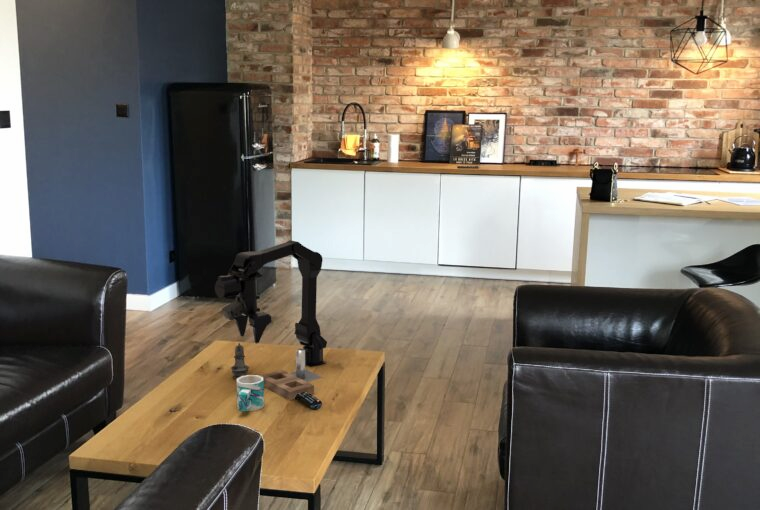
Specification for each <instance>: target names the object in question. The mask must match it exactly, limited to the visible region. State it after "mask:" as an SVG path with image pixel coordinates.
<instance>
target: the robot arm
mask: <svg viewBox="0 0 760 510" xmlns="http://www.w3.org/2000/svg"><path fill="white" fill-rule="evenodd" d="M291 256H292V257H293V258H294V259H296V262H297V268H298V270H299V271H298V272H299V273H300V274H301V315H300V316H301V317H300V320H299V321H298V322H295V324H294V329H295V330H294V335H295V337H296V339H297V340H298V342H299V345H301V346H302V349H304V350H305V366H307V367H309V368H313V367H317V366H320V365H325V364H326V361H324V349H326V348H327V344H328V341H327V340H326V339H325V338H324V337H323V336H322V335H321V327H320V324H319V322H318V320H317V290H318V289H317V288H318V287H317V286H318V283H317V282H318V279H317V278H318V276H319V275H320V272H321V271H322V266H323V262H324V261H323V255H322V254H321V253H320V252H318V251H313V250H312V249H310V248H308V247H306V246H304V245H303V244H301V243H300V242H299V241H295V240H292V239H291V240H287V241H286V242H282V243H280V244H276V245H274V246H271V247H268V248H265V249H262V250H258V251H256V250H255V251H245V252H244V251H243V252H239V253H237V254H236V256H235V258H234V262H233V263H232V265H231V267H230V268H229V270H228V273H227V275H220V276H219V275H218V277H217V280H216V282H215V284H214V292H215V295H216V296H217V297H218V298H219V299H225V298H230V297H234V296H235V300H234V301H232V302H231V303H229V304H227V305H226V306H224V307H222V308H221V311H222V314H223V316H224V318H225V319H228V320H229V321H235V324H236V327H237V330H238V332H239V335H240V337H245V334H246V330H247V326H249V327H251V328H252V330H253V340H254V343H255V344H259V343H260V341H261V338H262V336H263V333H264V332H265V330H266V328H267V326H268V325H270V324H272V315H270V314H269V313H267V312H265V311H261V308H260V307H258V300H260V297H261V296H260V295H258V289H257V288H258V287H257V279H259V278H262V277H263V275H262V273H260V272H259V271H260V270H261V269H263V268H264V266H266V265H267V264H269V263H272V262H274V261H277V260H280V259H283V258H286V257H291ZM247 324H248V325H247Z"/></svg>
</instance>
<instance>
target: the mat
mask: <svg viewBox="0 0 760 510" xmlns="http://www.w3.org/2000/svg"><path fill="white" fill-rule="evenodd" d="M290 374H292V375H294V376H296V371H294V372H293V371H292V372H290ZM322 378H323V377H322V376H321V375H318V374H317V373H314V372H312V371H310V370H308V369H306V368H305V379H302V380H304V381H306V382H308V383H309V382H311V381H315V380H319V379H322Z"/></svg>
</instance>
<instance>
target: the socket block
mask: <svg viewBox="0 0 760 510" xmlns="http://www.w3.org/2000/svg"><path fill="white" fill-rule="evenodd" d="M290 373H291V372H290ZM290 373H289V372H287V371H285V370H284V369H280V370H276V371H272V372H268V373H264V374H260V375H258V376H261V377H263V380H264V389H265V388H266V389H267V390H270V391H271V392H273V393H275V394H276V395H278V396H281V397H283V398H284V399H286V400H288V401H292V400H296V399H295V397H296V395H297V394H298V393H301V392H308V393H310V394H311V395H314V394H315V385H314V384H313V383H310V382H309V381H308V382H306V381H304V380H302V379H300V378H298V377H296V376H294V375H292V374H290Z"/></svg>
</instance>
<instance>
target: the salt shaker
mask: <svg viewBox="0 0 760 510" xmlns="http://www.w3.org/2000/svg"><path fill="white" fill-rule="evenodd" d="M233 358H234V365H232V366H231V367H230V370H231V372H232V374H233V375H234V376H233V377H232V378H233V380H236V381H237V378H239V377H241V376H245V375H246V374H247V373H248V372H249V369H250V366H249V365H247V364H246V363H245V358H246V355H245V348H244V346H243V345H241V343H240V342H238V345H236V346H235V348H234V357H233Z"/></svg>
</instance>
